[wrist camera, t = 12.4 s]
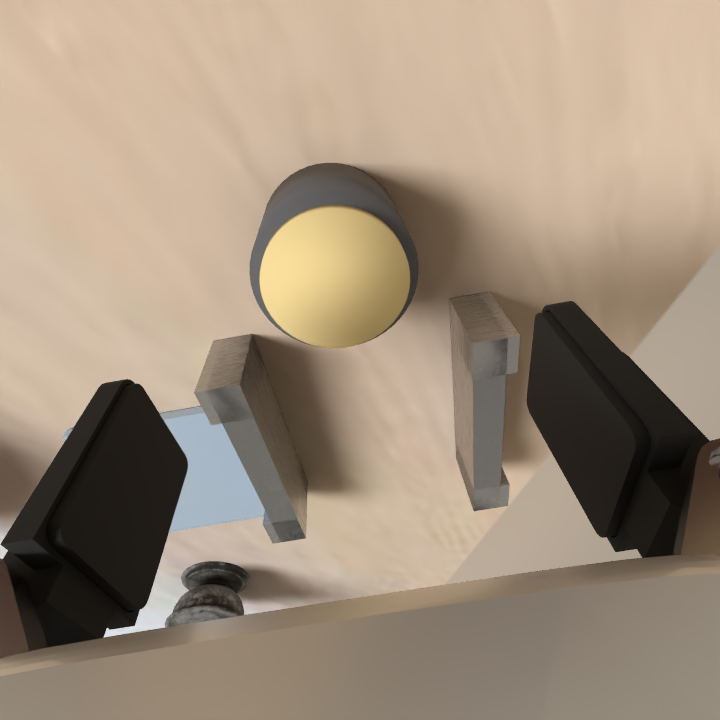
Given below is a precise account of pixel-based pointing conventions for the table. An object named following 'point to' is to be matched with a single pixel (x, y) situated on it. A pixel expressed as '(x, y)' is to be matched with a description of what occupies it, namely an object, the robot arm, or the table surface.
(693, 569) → the robot arm
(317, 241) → the grey and yellow cylinder
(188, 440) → the mat
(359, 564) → the table surface
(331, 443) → the table surface
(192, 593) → the dark grey turned post
